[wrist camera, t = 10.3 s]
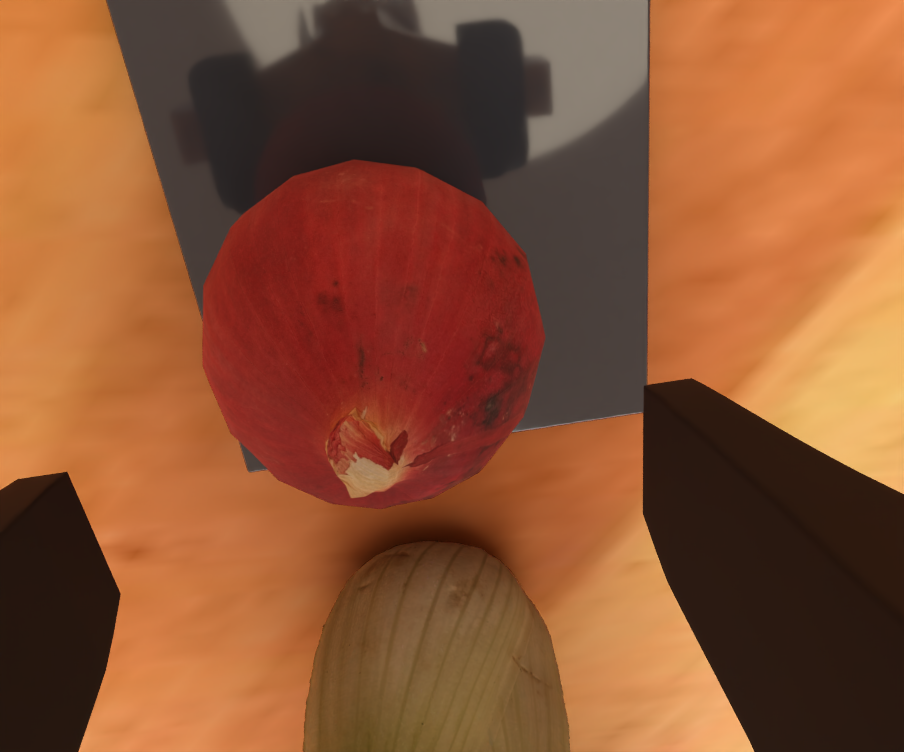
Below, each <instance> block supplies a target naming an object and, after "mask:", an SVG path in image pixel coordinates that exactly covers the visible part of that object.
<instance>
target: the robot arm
mask: <svg viewBox="0 0 904 752" xmlns="http://www.w3.org/2000/svg"><path fill="white" fill-rule="evenodd" d="M643 515H644V518H645V521H646V524H647V526H648V529H649V532H650V535H651V538H652V541H653V544H654V547H655V549H656V552H657V555H658V558H659V560H660V563H661V566H662V568H663V571H664V574H665V576H666V579H667V581H668V584H669V586H670V588H671V590H672V592H673V594H674V596H675V598H676V600H677V601H678V603H679V605H680V607H681V609H682V611H683V613H684V615H685V617H686V619H687V621H688V623H689V625H690V627H691V629H692V631H693V633H694V635H695V637H696V639H697V641H698V642H699V644H700V646H701V648H702V650H703V652H704V654H705V656H706V658H707V660H708V662H709V664H710V666H711V667H712V669H713V671H714V673H715V675H716V677H717V679H718V681H719V683H720V685H721V687H722V689H723V691H724V692H725V694H726V696H727V698H728V700H729V702H730V704H731V706H732V708H733V710H734V712H735V714H736V716H737V717H738V719H739V721H740V723H741V725H742V727H743V729H744V731H745V733H746V735H747V737H748V739H749V741H750V743H751V745H752V747H753V749H754V752H904V494H902V493H900V492H898V491H896V490H894V489H892V488H890V487H888V486H886V485H884V484H882V483H880V482H878V481H876V480H874V479H872V478H870V477H868V476H866V475H863V474H861V473H859V472H858V471H856V470H854V469H852V468H850V467H848V466H846V465H844V464H842V463H841V462H839V461H837V460H835V459H833V458H831V457H829V456H827V455H826V454H824V453H822V452H820V451H818V450H816V449H815V448H813V447H811V446H809V445H808V444H806V443H804V442H802V441H800V440H799V439H797V438H795V437H793V436H792V435H790V434H788V433H786V432H785V431H783V430H781V429H779V428H778V427H776V426H774V425H772V424H771V423H769V422H767V421H766V420H764V419H762V418H761V417H759V416H757V415H755V414H754V413H752V412H750V411H749V410H747V409H745V408H744V407H742V406H740V405H738V404H737V403H735V402H733V401H732V400H730V399H728V398H727V397H725V396H723V395H721V394H720V393H718V392H716V391H714V390H713V389H711V388H709V387H707V386H705V385H704V384H702V383H700V382H698V381H696V380H694V379H692V378H691V379H684V380H677V381H671V382H664V383H657V384H651V385H644V409H643ZM119 600H120V592H119V589H118V587H117V585H116V582H115V580H114V578H113V576H112V573H111V571H110V569H109V566H108V564H107V562H106V560H105V557H104V555H103V553H102V550H101V548H100V546H99V544H98V541H97V539H96V537H95V534H94V532H93V530H92V528H91V525H90V523H89V521H88V518H87V516H86V514H85V512H84V509H83V507H82V505H81V502H80V500H79V498H78V496H77V493H76V491H75V489H74V486H73V484H72V482H71V480H70V477H69V475H68V473H67V472H63V473H56V474H50V475H43V476H36V477H30V478H23V479H17V480H16V481H14V482H13V483H11V484H9V485H8V486H6V487H5V488H3V489H2V490H0V752H78V751H79V748H80V745H81V742H82V739H83V736H84V733H85V731H86V728H87V725H88V722H89V719H90V716H91V713H92V710H93V707H94V704H95V701H96V698H97V695H98V692H99V689H100V686H101V683H102V680H103V677H104V674H105V671H106V667H107V662H108V658H109V653H110V648H111V644H112V639H113V634H114V628H115V623H116V617H117V611H118V606H119Z"/></svg>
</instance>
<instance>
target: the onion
mask: <svg viewBox="0 0 904 752" xmlns="http://www.w3.org/2000/svg"><path fill="white" fill-rule="evenodd" d="M544 341H545V333H544V328H543V324H542V319H541V315H540V311H539V306H538V302H537V298H536V294H535V290H534V286H533V282H532V278H531V273H530V269H529V265H528V261H527V257H526V253H525V252H524V251H523V250H522V249H521V247H520V246H519V245H518V244H517V243H516V241H515V240H514V239H513V238H512V237H511V235H510V234H509V233H508V232H507V231H506V230H505V228H504V227H503V226H502V225H501V224H500V222H499V221H498V220H497V219H496V218H495V216H494V215H493V214H492V213H491V212H490V211H489V209H488V208H487V207H486V206H485V205H484V203H483V202H482V201H480V200H478V199H476V198H474V197H472V196H470V195H468V194H466V193H465V192H463V191H461V190H459V189H457V188H455V187H453V186H451V185H449V184H447V183H445V182H443V181H442V180H440V179H438V178H436V177H434V176H432V175H430V174H428V173H426V172H424V171H422V170H420V169H418V168H416V167H408V166H400V165H393V164H385V163H377V162H370V161H362V160H351V161H347V162H343V163H340V164H336V165H332V166H329V167H325V168H321V169H318V170H314V171H310V172H307V173H303V174H299V175H296V176H293V177H291V178H290V179H289V180H287V181H286V182H285V183H283V184H282V185H281V186H279V187H278V188H277V189H275V190H274V191H273V192H271V193H270V194H269V195H267V196H266V197H265V198H263V199H262V200H261V201H259V202H258V203H257V204H256V205H254V206H253V207H252V208H250V209H249V210H248V211H246V212H245V213H244V214H243V215H242V216H241V217H240V218H239V219H238V220H237V221H236V222H235V223H234V224H233V226H232V227H231V228H230V230H229V232H228V234H227V236H226V238H225V240H224V243H223V245H222V247H221V249H220V251H219V253H218V255H217V258H216V260H215V262H214V264H213V266H212V268H211V270H210V272H209V275H208V277H207V279H206V281H205V283H204V285H203V368H204V371H205V373H206V376H207V378H208V381H209V384H210V386H211V388H212V391H213V393H214V395H215V398H216V400H217V402H218V405H219V407H220V409H221V412H222V414H223V416H224V419H225V421H226V423H227V426H228V428H229V430H230V433H231V434H232V435H233V436H234V437H235V438H236V439H237V440H238V441H239V442H241V443H242V444H243V445H244V446H245V447H246V448H247V449H248V450H249V451H250V452H251V453H252V454H253V455H254V456H255V457H256V458H257V459H258V460H259V461H260V462H261V463H262V464H263V465H264V466H265V467H266V468H267V469H268V470H269V471H270V472H271V473H272V474H273V475H274V476H275V477H276V478H277V479H278V480H279V481H281V482H283V483H286V484H288V485H290V486H292V487H295V488H297V489H299V490H301V491H304V492H306V493H308V494H310V495H313V496H315V497H317V498H319V499H322V500H324V501H326V502H329V503H331V504H338V505H347V506H356V507H366V508H375V509H383V508H387V507H391V506H395V505H400V504H405V503H410V502H415V501H420V500H425V499H431V498H434V497H435V496H437V495H439V494H441V493H443V492H444V491H446V490H448V489H450V488H452V487H453V486H455V485H457V484H459V483H461V482H462V481H464V480H466V479H468V478H470V477H472V476H473V475H475V474H477V473H479V472H480V470H481V469H482V468H483V467H484V466H485V465H486V464H487V463H488V461H489V460H490V459H491V458H492V456H493V455H494V454H495V452H496V451H497V450H498V449H499V447H500V446H501V445H502V444H503V442H504V441H505V440H506V438H507V437H508V436H509V435H510V433H511V432H512V431H513V430H514V428H515V427H516V426H517V424H518V423H519V422H520V421H521V419H522V418H523V417H524V414H525V411H526V408H527V405H528V403H529V399H530V395H531V391H532V387H533V384H534V380H535V376H536V372H537V368H538V364H539V361H540V357H541V353H542V349H543V345H544Z"/></svg>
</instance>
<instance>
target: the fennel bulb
mask: <svg viewBox="0 0 904 752" xmlns="http://www.w3.org/2000/svg"><path fill="white" fill-rule="evenodd" d="M569 738H570V737H569V724H568V719H567V714H566V709H565V703H564V699H563V691H562V686H561V681H560V675H559V670H558V665H557V662H556V657H555V653H554V649H553V644H552V640H551V636H550V634H549V631H548V629H547V626H546V625H545V623H544V620H543V619H542V617H541V616H540V614H539V612H538V610H537V609H536V607H535V605H534V604H533V603H532V601H531V600H530V599H529V598H528V596H527V595H526V594H525V592H524V591H523V589H522V588H521V586H520V584H519V583H518V581H517V580H516V578H515V576H514V575H513V574H512V572H511V571H510V570H509V568H507V567H506V566H505V565H504V564H503V563H502V562H501V561H499V560H498V559H497V558H496V557H495V556H491V555H490V554H488V553H487V552H485V551H484V550H483V549H481V548H478V547H473V546H466V545H463V544H458V543H454V542H438V541H435V542H434V541H424V542H423V541H421V542H414V543H408V544H402V545H399V546H395V547H393V548H391V549H389V550H387V551H384V552H383V553H380V554H378V555H376V556H374V557H373V558H372V559H371V560H370V561H368V562H367V563H365V564H364V565H363V566H362V567H361V568H360V569H359V570H358V571H357V572H356V573H355V574H353V575H352V576H351V578H350V579H349V580H348V581H347V582H346V584H345V587H344V588H343V589H342V591H341V592H340V594H339V596H338V598H337V600H336V602H335V604H334V606H333V608H332V610H331V612H330V614H329V616H328V618H327V621H326V623H325V624H324V626H323V630H322V634H321V638H320V640H319V645H318V647H317V650H316V653H315V657H314V663H313V670H312V675H311V679H310V687H309V694H308V697H307V701H306V712H305V722H304V742H303V752H570V743H569Z"/></svg>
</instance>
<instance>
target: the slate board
mask: <svg viewBox="0 0 904 752" xmlns="http://www.w3.org/2000/svg"><path fill="white" fill-rule="evenodd" d="M106 2H107V6H108V9H109V12H110V16H111V19H112V22H113V26H114V29H115V32H116V36H117V39H118V42H119V46H120V49H121V52H122V56H123V59H124V62H125V66H126V69H127V72H128V76H129V79H130V82H131V85H132V89H133V92H134V95H135V99H136V102H137V105H138V109H139V112H140V115H141V119H142V122H143V125H144V129H145V132H146V135H147V139H148V142H149V145H150V149H151V152H152V155H153V159H154V162H155V165H156V169H157V172H158V175H159V178H160V182H161V185H162V188H163V192H164V195H165V198H166V202H167V205H168V208H169V212H170V215H171V218H172V222H173V225H174V228H175V232H176V235H177V238H178V242H179V245H180V248H181V252H182V255H183V258H184V261H185V265H186V268H187V271H188V275H189V278H190V281H191V285H192V288H193V291H194V295H195V298H196V301H197V305H198V308H199V311H200V315H201V318H202V321H203V285H204V283H205V281H206V279H207V277H208V275H209V272H210V270H211V268H212V266H213V264H214V262H215V260H216V258H217V255H218V253H219V251H220V249H221V247H222V245H223V243H224V240H225V238H226V236H227V234H228V232H229V230H230V228H231V227H232V226H233V224H234V223H235V222H236V221H237V220H238V219H239V218H240V217H241V216H242V215H243V214H244V213H245V212H246V211H248V210H249V209H250V208H252V207H253V206H254V205H256V204H257V203H258V202H259V201H261V200H262V199H263V198H265V197H266V196H267V195H269V194H270V193H271V192H273V191H274V190H275V189H277V188H278V187H279V186H281V185H282V184H283V183H285V182H286V181H287V180H289V179H290V178H291V177H293V176H296V175H299V174H303V173H307V172H310V171H314V170H318V169H321V168H325V167H329V166H332V165H336V164H340V163H343V162H347V161H351V160H362V161H370V162H377V163H385V164H393V165H400V166H408V167H416V168H418V169H420V170H422V171H424V172H426V173H428V174H430V175H432V176H434V177H436V178H438V179H440V180H442V181H443V182H445V183H447V184H449V185H451V186H453V187H455V188H457V189H459V190H461V191H463V192H465V193H466V194H468V195H470V196H472V197H474V198H476V199H478V200H480V201H482V202H483V203H484V205H485V206H486V207H487V208H488V209H489V211H490V212H491V213H492V214H493V215H494V216H495V218H496V219H497V220H498V221H499V222H500V224H501V225H502V226H503V227H504V228H505V230H506V231H507V232H508V233H509V234H510V235H511V237H512V238H513V239H514V240H515V241H516V243H517V244H518V245H519V246H520V247H521V249H522V250H523V251H524V252H525V253H526V257H527V261H528V265H529V269H530V273H531V278H532V282H533V286H534V290H535V294H536V298H537V302H538V306H539V311H540V315H541V319H542V324H543V328H544V333H545V341H544V345H543V349H542V353H541V357H540V361H539V364H538V368H537V372H536V376H535V380H534V384H533V387H532V391H531V395H530V399H529V403H528V405H527V408H526V411H525V414H524V417H523V418H522V419H521V421H520V422H519V423H518V424H517V426H516V427H515V428H514V430H513V431H512V432H511V433H514V432H521V431H527V430H534V429H540V428H547V427H554V426H560V425H567V424H573V423H580V422H586V421H593V420H600V419H606V418H613V417H619V416H626V415H633V414H639V413H643V409H644V385H647V365H648V237H649V110H650V0H106ZM239 444H240V447H241V451H242V454H243V457H244V461H245V464H246V467H247V470H248V472H257V471H264V470H268V469H267V468H266V467H265V466H264V465H263V464H262V463H261V462H260V461H259V460H258V459H257V458H256V457H255V456H254V455H253V454H252V453H251V452H250V451H249V450H248V449H247V448H246V447H245V446H244V445H243V444H242V443H241V442H239Z"/></svg>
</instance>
